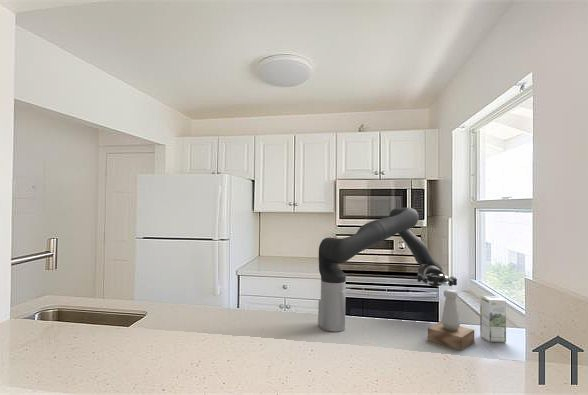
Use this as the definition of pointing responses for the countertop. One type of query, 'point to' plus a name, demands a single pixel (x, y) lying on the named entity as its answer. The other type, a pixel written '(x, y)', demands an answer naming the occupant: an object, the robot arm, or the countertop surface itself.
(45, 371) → the countertop surface
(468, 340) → the wooden block
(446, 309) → the salt shaker
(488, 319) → the syrup box
